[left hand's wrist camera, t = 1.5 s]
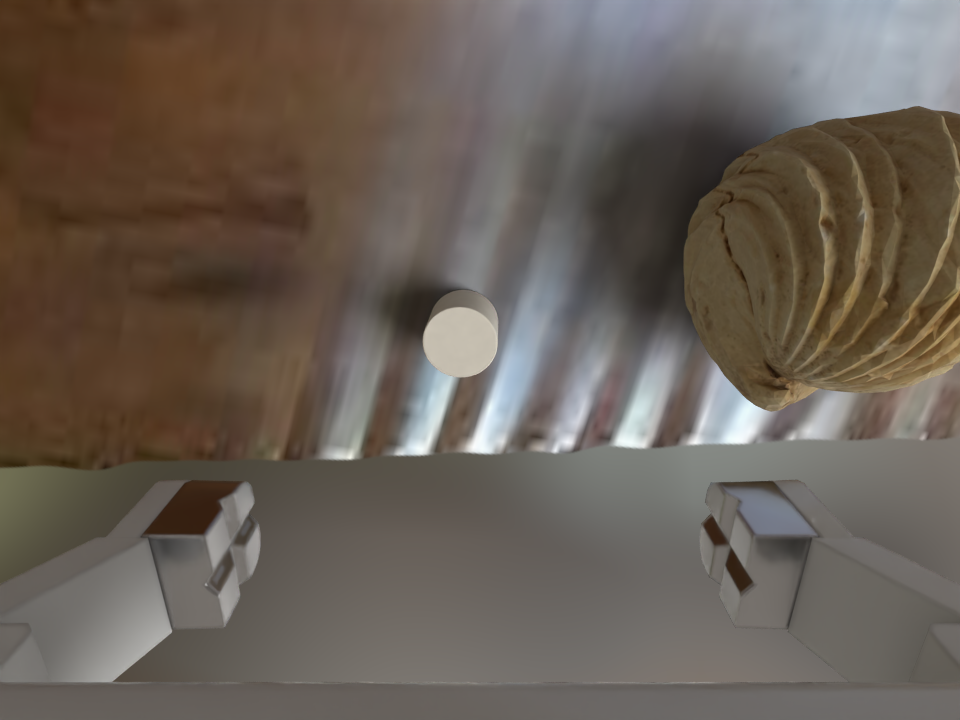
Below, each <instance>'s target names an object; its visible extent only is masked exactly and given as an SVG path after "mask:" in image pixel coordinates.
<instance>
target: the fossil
mask: <svg viewBox="0 0 960 720" xmlns="http://www.w3.org/2000/svg"><path fill="white" fill-rule="evenodd" d="M684 291H685V302H686V306H687V308H688V310H689V312H690V314H691V316H692V320H693V324H694V326H695V328H696V330H697V333H698V335H699V337H700V339H701V341H702V343H703V345H704V346H705V348H706V350H707V352H708V353H709V355H710V357H711V358H712V359H713V360H714V361H715V362H716V364H717V365H718V366H719V368H720V369H721V371H722V372H723V374H724V375H725V376H726V378H727V379H728V380H729V381H730V382H731V383H732V384H733V385H734V386H735V387H736V388H737V389H738V391H739V392H740V393H741V394H742V395H743V396H744V397H745V398H746V399H748V400H749V401H750V402H752V403H753V404H754V405H756V406H758V407H760V408H762V409H765V410H768V411H777V410H781V409H783V408H785V407H786V406H788V405H789V404H792V403H795V402H797V401H799V400H801V399H803V398H806V397H807V396H809V395H810V394H811V393H813V392H814V391H816V390H817V389H819V388H821V389H826V390H832V391H843V392H854V393H871V392H886V391H890V390H895V389H899V388H904V387H909V386H913V385H915V384H917V383H919V382H921V381H923V380H925V379H928V378H931V377H934V376H938V375H941V374H944V373H945V372H947V371H948V370H950V369H952V368H953V365H954V364H956V363H958V362H960V114H956V113H952V112H948V111H934V110H930V109H927V108H924V107H920V106H915V107H911V108H908V109H902V110H898V111H891V112H885V113H879V114H873V115H866V116H860V117H852V118H845V119H832V120H826V121H820V122H817V123H815V124H813V125H811V126H806V127H801V128H796V129H792V130H790V131H788V132H786V133H784V134H781V135H777V136H775V137H774V138H772V139H771V140H769V141H767V142H765V143H762V144H760V145H758V146H756V147H754V148H752V149H750V150H748V151H746V152H744V154H742V155H740V156H739V157H738V158H736V159H735V160H734V161H733V162H732V163H731V164H730V165H729V166H728V167H727V168H726V169H725V171H724V174H723V178H722V180H721V182H720V184H719V185H718V186H717V187H716V188H714V189H713V190H712V191H710V192H709V193H708V194H707V195H705V196H704V197H703V198H702V199H700V200H699V204H698V207H697V208H696V210H695V212H694V214H693V215H692V217H691V220H690V223H689V226H688V238H687V240H686V243H685V246H684Z"/></svg>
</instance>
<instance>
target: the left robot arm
mask: <svg viewBox="0 0 960 720" xmlns="http://www.w3.org/2000/svg"><path fill="white" fill-rule="evenodd" d="M254 503H255V500H254V495H253V491H252V486H251V485H250V484H249V483H248V482H246V481H199V480H192V481H189V480H163V481H160V482H156V483H155V484H154V486H153V487H152V488H151V489H150V490H149V491H148V492H147V493H146V494H145V495H144V496H143V498H142V499H141V500H140V501H139V502H138V503H137V504H136V505H135V506H134V507H133V508H132V509H131V511H130V512H129V513H128V514H127V515H126V516H125V517H124V518H123V519H122V520H121V522H120V523H119V524H118V525H117V526H116V527H115V528H114V529H113V530H112V531H111V532H110V533H109V534H108V536H107V537H106V538H95V539H92V540H90V541H88V542H86V543H84V544H82V545H80V546H78V547H76V548H74V549H72V550H70V551H68V552H66V553H63V554H61V555H59V556H57V557H55V558H53V559H51V560H49V561H47V562H45V563H43V564H41V565H39V566H37V567H34V568H32V569H30V570H28V571H26V572H24V573H22V574H20V575H18V576H16V577H14V578H12V579H10V580H8V581H5V582H3V583H1V584H0V720H960V584H958V583H956V582H954V581H952V580H950V579H948V578H946V577H944V576H942V575H940V574H938V573H936V572H934V571H932V570H930V569H927V568H925V567H923V566H921V565H919V564H917V563H915V562H913V561H911V560H909V559H907V558H905V557H903V556H901V555H899V554H896V553H894V552H892V551H890V550H888V549H886V548H884V547H882V546H880V545H878V544H876V543H874V542H872V541H870V540H867V539H865V538H854V537H853V536H852V535H851V533H850V532H849V531H848V530H847V529H846V528H845V527H844V526H843V525H842V524H841V523H840V521H839V520H838V519H837V518H836V517H835V516H834V515H833V514H832V513H831V512H830V511H829V509H828V508H827V507H826V506H825V505H824V504H823V503H822V502H821V501H820V500H819V499H818V497H817V496H816V495H815V494H814V493H813V492H812V491H811V490H810V489H809V488H808V487H807V486H806V484H805V483H803V482H801V481H799V480H776V481H752V482H711V484H710V486H709V488H708V490H707V494H706V500H705V503H706V505H707V506H708V508H709V510H710V511H711V514H710V515H709V516H708V517H707V518H706V519H705V520H704V521H703V522H702V523H701V530H700V538H699V541H700V553H701V558H702V561H703V565H704V567H705V570H706V571H707V574H708V576H709V577H710V578H711V579H712V580H714V581H715V582H717V583H718V584H720V585H721V590H720V595H719V597H720V599H721V601H722V603H723V605H724V607H725V609H726V611H727V613H728V615H729V617H730V619H731V621H732V623H733V625H734V626H735V628H757V629H788V632H789V633H790V634H791V635H792V636H793V637H795V638H796V639H797V640H798V641H800V642H801V643H802V644H803V645H804V646H806V647H807V648H808V649H809V650H810V651H812V652H813V653H814V654H815V655H817V656H818V657H819V658H820V659H821V660H823V661H824V662H825V663H826V664H827V665H829V666H830V667H831V668H832V669H834V670H835V671H836V672H837V673H838V674H840V675H841V676H842V677H843V678H844V679H846V680H847V681H848V682H112V681H113V680H115V679H116V678H117V677H118V676H119V675H121V674H122V673H123V672H124V671H125V670H127V669H128V668H129V667H130V666H131V665H133V664H134V663H135V662H136V661H138V660H139V659H140V658H141V657H142V656H144V655H145V654H146V653H147V652H149V651H150V650H151V649H152V648H153V647H155V646H156V645H157V644H158V643H160V642H161V641H162V640H163V639H164V638H166V637H167V636H168V635H169V634H170V633H172V629H202V628H225V627H226V625H227V623H228V621H229V619H230V617H231V615H232V613H233V611H234V609H235V607H236V605H237V603H238V601H239V599H240V597H241V595H240V590H239V585H240V584H242V583H243V582H245V581H246V580H248V579H249V578H250V577H251V576H252V574H253V572H254V569H255V567H256V565H257V561H258V557H259V552H260V529H259V523H258V522H257V521H256V520H255V519H254V518H253V517H252V516H251V515H250V514H249V511H250V510H251V508H252V506H253V505H254Z"/></svg>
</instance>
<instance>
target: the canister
mask: <svg viewBox="0 0 960 720" xmlns="http://www.w3.org/2000/svg"><path fill="white" fill-rule="evenodd" d="M497 344H498V317H497V313H496V310H495V308H494V307H493V305H492V304H491V302H490V301H489V300H488V299H487V298H486V297H484V296H483V295H481V294H479V293H477V292H474V291H470V290H457V291H453V292H450V293H448V294H446V295H444V296H443V297H442V298H440V299H439V300H438V302H437V303H436V304H435V306H434V308H433V310H432V312H431V315H430V317H429V320H428V322H427V325H426V327H425V330H424V334H423V348H424V352H425V355H426V357H427V358H428V360H429V361H430V363H431V364H432V365H433V366H434V367H435V368H436V369H438V370H439V371H441V372H442V373H444V374H447V375H450V376H454V377H468V376H472V375H475V374H478V373H480V372H481V371H483V370H484V369H485V368H487V367H488V366H489V364H490V363H491V362H492V360H493V359H494V357H495V354H496V351H497Z"/></svg>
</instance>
